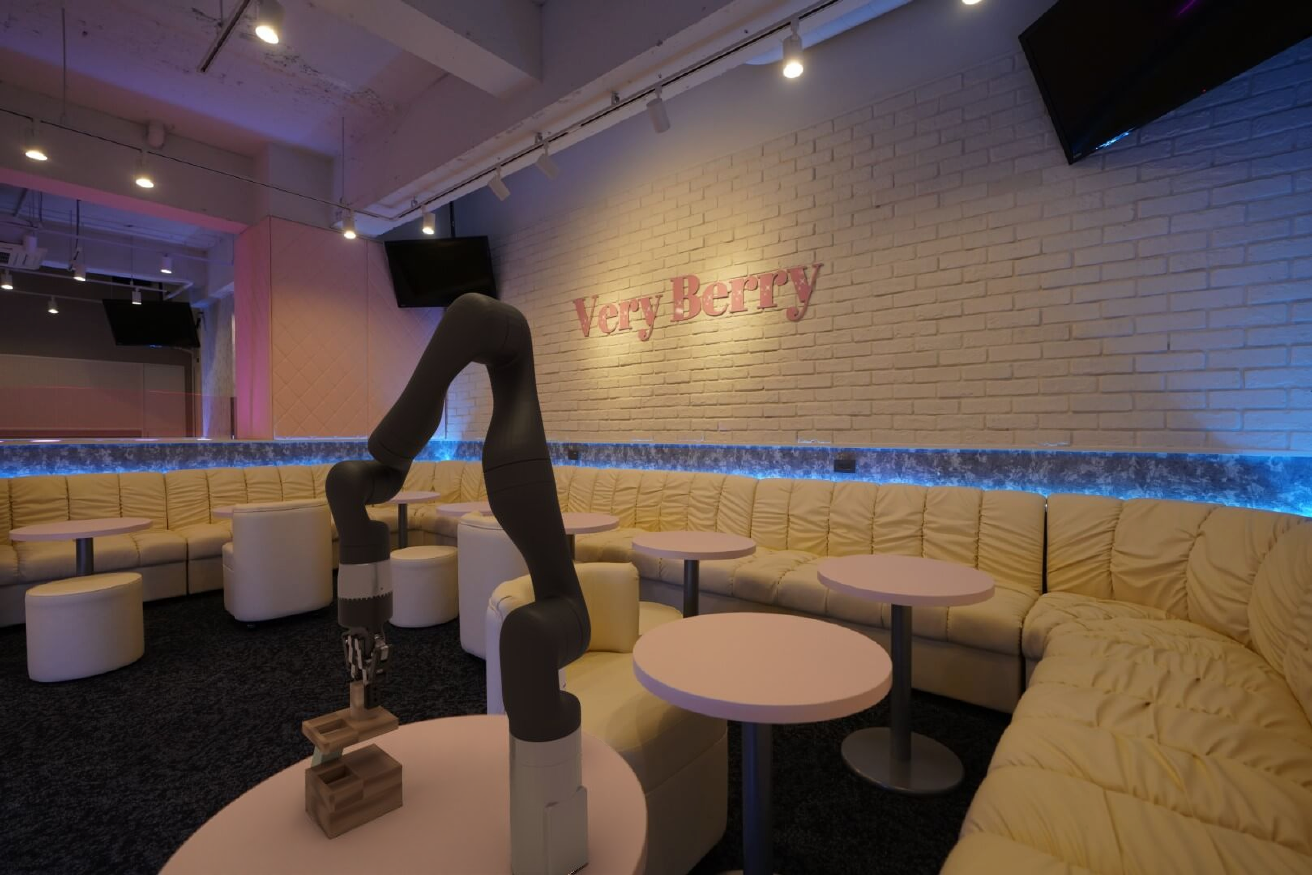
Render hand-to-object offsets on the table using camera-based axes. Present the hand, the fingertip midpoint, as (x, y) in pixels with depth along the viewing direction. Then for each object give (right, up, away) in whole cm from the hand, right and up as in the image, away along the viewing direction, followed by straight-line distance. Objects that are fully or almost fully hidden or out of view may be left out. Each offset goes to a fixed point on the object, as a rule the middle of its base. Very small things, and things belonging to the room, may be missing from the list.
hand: (367, 703), depth 88 cm
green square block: (-6, -6, +1) cm, 8 cm away
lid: (-2, -3, -2) cm, 4 cm away
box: (-1, -15, -2) cm, 15 cm away
